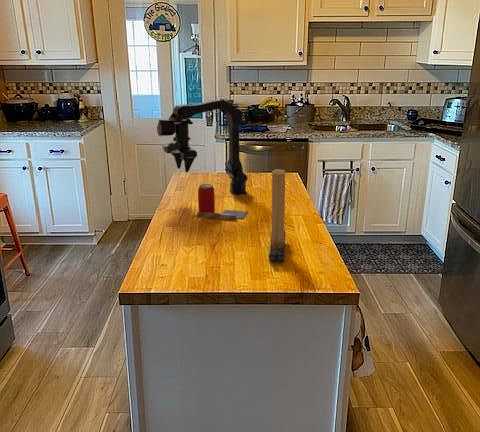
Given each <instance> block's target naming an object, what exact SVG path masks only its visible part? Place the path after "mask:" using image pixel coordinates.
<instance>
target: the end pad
mask: <svg viewBox="0 0 480 432" xmlns="http://www.w3.org/2000/svg"><path fill="white" fill-rule="evenodd" d="M248 212H249V211H247V210H234V209H224V210H223V212H222V213H224V214H236V220H237V219H238V220H244V218H245V217H246V216H247V214H248Z"/></svg>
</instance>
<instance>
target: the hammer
mask: <svg viewBox="0 0 480 432" xmlns="http://www.w3.org/2000/svg"><path fill="white" fill-rule="evenodd" d="M285 205H286V170H284V169H282V168H281V169H280V168H276V169H274V170H273V169H272V171H271V232H270V245H269V246H270V247H269V254H268V260H269V261H270V262H271V261H275V262H276V260H277V261H278V262H285V250H286V229H285V219H286V218H285V211H286V209H285V207H286V206H285Z"/></svg>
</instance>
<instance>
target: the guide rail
mask: <svg viewBox="0 0 480 432" xmlns="http://www.w3.org/2000/svg"><path fill="white" fill-rule="evenodd" d="M196 217H197V218H199V219H201V218H202V219H213V220H227V221H236V220H237V219H236V214H224V213H223V212H221V213H220V212H214V213H209V212H199V211H197V214H196Z"/></svg>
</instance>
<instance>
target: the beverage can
mask: <svg viewBox="0 0 480 432" xmlns="http://www.w3.org/2000/svg"><path fill="white" fill-rule="evenodd" d="M197 191H198V192H197V196H198V200H197V201H198V212H209V213H216V212H215V211H216V210H215V209H216V206H215V205H216V201H215V188H214V185H212V183H211V184H210V183H203V184H199V187H198V189H197Z"/></svg>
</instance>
